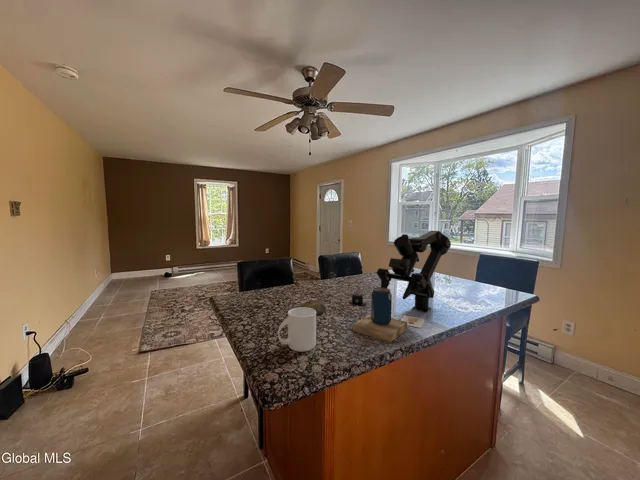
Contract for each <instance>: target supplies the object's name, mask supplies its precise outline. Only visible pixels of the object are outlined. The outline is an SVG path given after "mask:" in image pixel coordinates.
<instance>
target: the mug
mask: <svg viewBox="0 0 640 480" xmlns="http://www.w3.org/2000/svg"><path fill="white" fill-rule="evenodd" d="M285 326H287V338H286V339H283V338H282V337H281V335H280V332H281V330H282V328H283V327H285ZM277 331H278V332H277V334H278V335H277V337H278V339H279V341H280V343H281V344H283V345H285V346H286V345H287V346H288V347H289V348H290V349H291V350H292V351H294V352H300V353H301V352H309V351H312V350H313V349H314V348H315V347H316V344H317V316H316V311H315V310H314V309H312V308H307V307H299V308H296V307H295V308H291V309H289V310H288V311H287V318H285V319H284V320H283V321H282V322H281V323H280V325H279V327H278V329H277Z"/></svg>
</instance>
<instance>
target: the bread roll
mask: <svg viewBox="0 0 640 480" xmlns="http://www.w3.org/2000/svg"><path fill="white" fill-rule="evenodd" d="M299 307H307V308H312V309H314V310H315V311H316V317H318V316H321V315H323V314H324V313H325V311H326V305H325V304H323V303H322V302H320V301H318V300H313V299H312V300H307V301H304V303H300V304H297V305H296V306H295V308H299Z"/></svg>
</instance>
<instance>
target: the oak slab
mask: <svg viewBox="0 0 640 480" xmlns="http://www.w3.org/2000/svg"><path fill="white" fill-rule="evenodd" d="M407 329H408V326H407V322H405V321H401V319H396V318H393V317H391V321H390V323H389V324H388V325H385V326H381V325H376V324H374V323H373V321H372V319H371V313H370V314H368V315H366V316H365V317H363V318H361V319H360V320H358V321H356V322H354V323H353V325H352V331H353V332H356V333H359V334H362V335H366V336H368V337H371V338H375V339H378V340H381V341H384V342H387V343H392V342H393V341H394V340H395V339H397V338H398V337H399V336H401V335H402V334H403V333H404V332H406V330H407Z"/></svg>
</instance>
